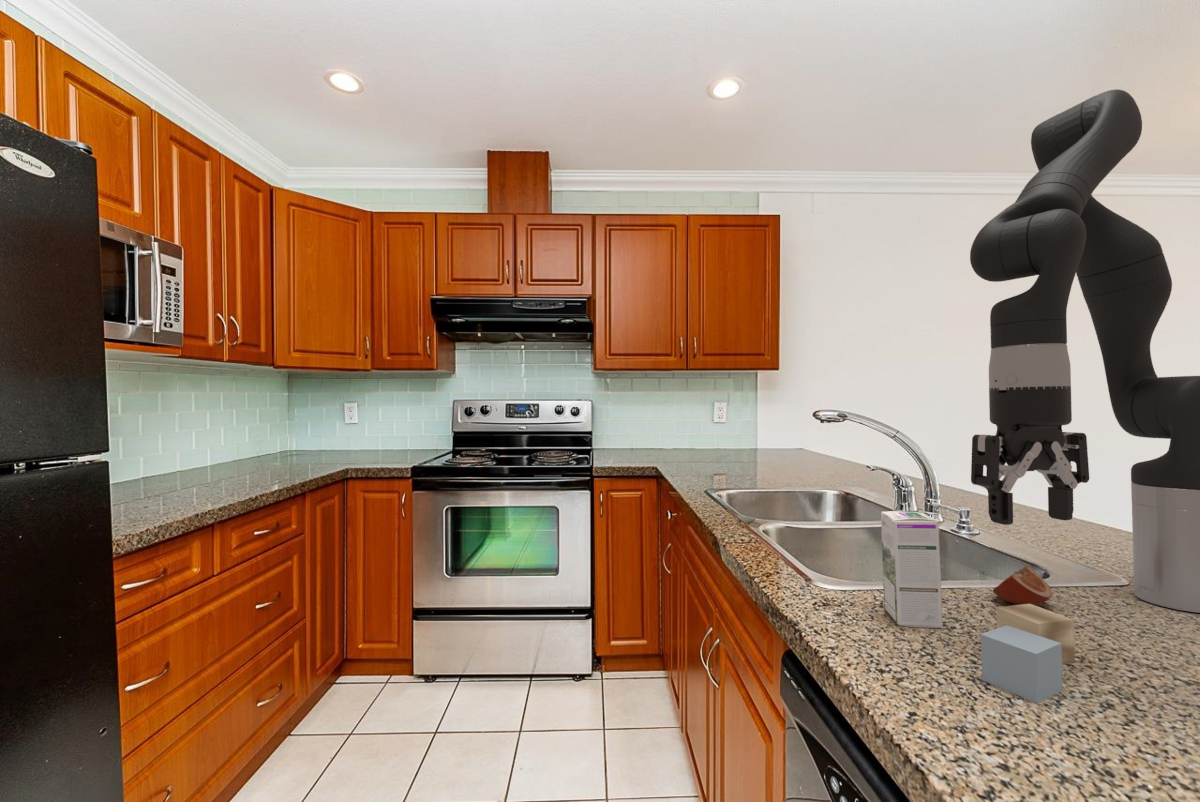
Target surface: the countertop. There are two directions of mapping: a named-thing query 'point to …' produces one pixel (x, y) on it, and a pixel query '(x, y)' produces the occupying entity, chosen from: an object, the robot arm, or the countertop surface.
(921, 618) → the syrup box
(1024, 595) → the fruit slice
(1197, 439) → the robot arm
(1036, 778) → the countertop surface
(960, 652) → the countertop surface
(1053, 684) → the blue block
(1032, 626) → the maple block
